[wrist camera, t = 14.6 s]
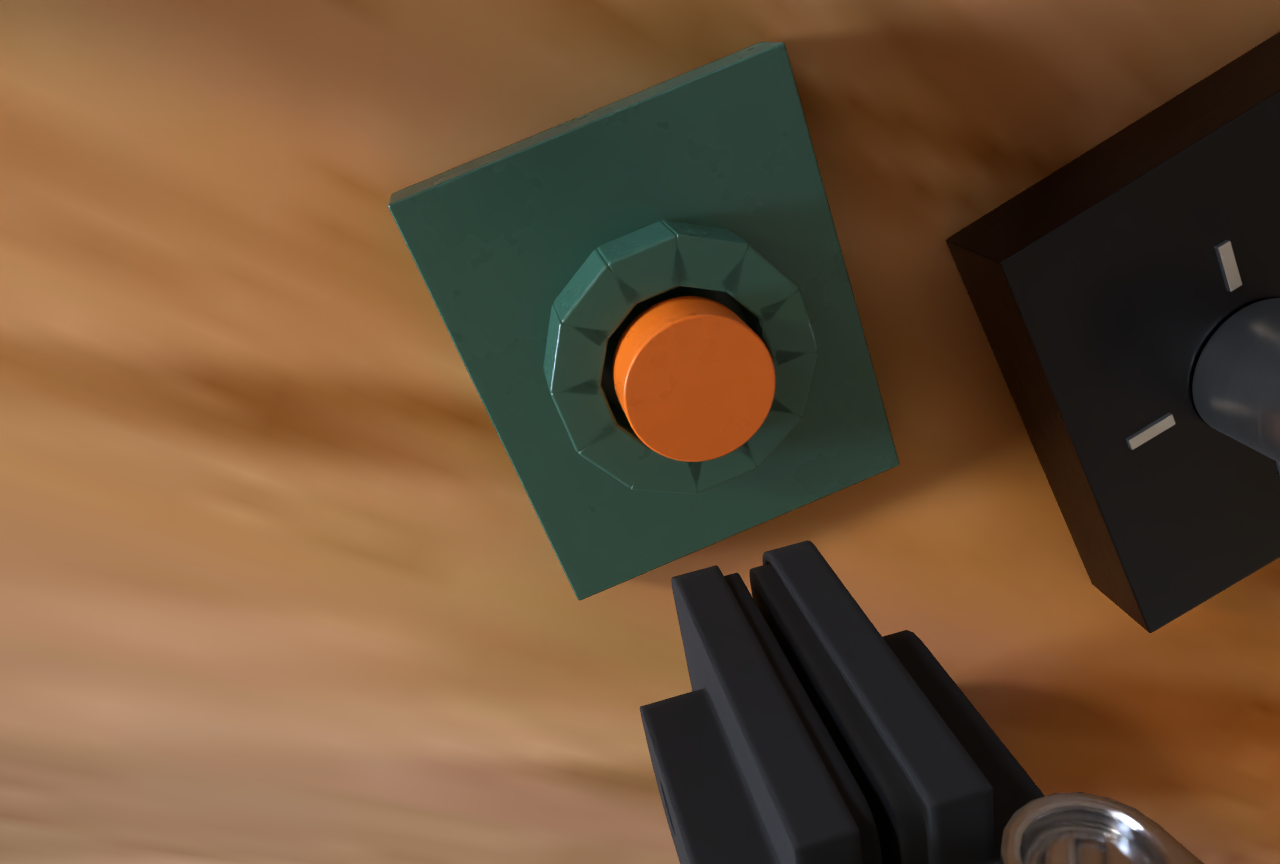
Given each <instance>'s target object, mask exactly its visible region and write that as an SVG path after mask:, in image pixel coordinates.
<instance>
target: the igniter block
mask: <svg viewBox="0 0 1280 864" xmlns="http://www.w3.org/2000/svg"><path fill="white" fill-rule="evenodd" d="M388 207H389V209H390V212H391V214H392V216H393V218H394V220H395V222H396V224H397V226H398V228H399V230H400V232H401V234H402V236H403V238H404V241H405V243H406V245H407V247H408V249H409V251H410V253H411V255H412V257H413V259H414V261H415V263H416V265H417V267H418V269H419V272H420V274H421V276H422V278H423V280H424V282H425V284H426V286H427V288H428V290H429V292H430V294H431V296H432V298H433V301H434V303H435V305H436V307H437V309H438V311H439V313H440V315H441V317H442V319H443V321H444V323H445V325H446V327H447V330H448V332H449V334H450V336H451V338H452V340H453V342H454V344H455V346H456V348H457V350H458V352H459V354H460V356H461V359H462V361H463V363H464V365H465V367H466V369H467V371H468V373H469V375H470V377H471V379H472V381H473V383H474V385H475V388H476V390H477V392H478V394H479V396H480V398H481V400H482V402H483V404H484V406H485V408H486V410H487V412H488V414H489V417H490V419H491V421H492V423H493V425H494V427H495V429H496V431H497V433H498V435H499V437H500V439H501V441H502V443H503V446H504V448H505V450H506V452H507V454H508V456H509V458H510V460H511V462H512V464H513V466H514V468H515V470H516V472H517V474H518V477H519V479H520V481H521V483H522V485H523V487H524V489H525V491H526V493H527V495H528V497H529V499H530V501H531V503H532V506H533V508H534V510H535V512H536V514H537V516H538V518H539V520H540V522H541V524H542V526H543V528H544V530H545V532H546V535H547V537H548V539H549V541H550V543H551V545H552V547H553V549H554V551H555V553H556V555H557V557H558V559H559V561H560V564H561V566H562V568H563V570H564V572H565V574H566V576H567V578H568V580H569V582H570V584H571V586H572V588H573V590H574V593H575V595H576V597H577V599H578V600H582V599H585V598H587V597H589V596H592V595H594V594H596V593H599V592H601V591H604V590H606V589H608V588H611V587H613V586H615V585H618V584H620V583H622V582H625V581H627V580H629V579H632V578H634V577H637V576H639V575H641V574H644V573H646V572H648V571H651V570H653V569H655V568H658V567H660V566H662V565H665V564H667V563H670V562H672V561H674V560H677V559H679V558H681V557H684V556H686V555H688V554H691V553H693V552H695V551H698V550H700V549H703V548H705V547H707V546H710V545H712V544H714V543H717V542H719V541H721V540H724V539H726V538H728V537H731V536H733V535H736V534H738V533H740V532H743V531H745V530H747V529H750V528H752V527H754V526H757V525H759V524H761V523H764V522H766V521H769V520H771V519H773V518H776V517H778V516H780V515H783V514H785V513H787V512H790V511H792V510H794V509H797V508H799V507H802V506H804V505H806V504H809V503H811V502H813V501H816V500H818V499H820V498H823V497H825V496H828V495H830V494H832V493H835V492H837V491H839V490H842V489H844V488H846V487H849V486H851V485H853V484H856V483H858V482H861V481H863V480H865V479H868V478H870V477H872V476H875V475H877V474H879V473H882V472H884V471H886V470H889V469H891V468H894V467H896V466H898V465H899V460H898V456H897V453H896V449H895V445H894V442H893V438H892V434H891V431H890V427H889V423H888V420H887V416H886V413H885V409H884V405H883V402H882V398H881V394H880V391H879V387H878V383H877V380H876V376H875V372H874V369H873V365H872V361H871V358H870V354H869V350H868V347H867V343H866V339H865V336H864V332H863V328H862V325H861V321H860V317H859V314H858V310H857V306H856V303H855V299H854V295H853V292H852V288H851V284H850V281H849V277H848V273H847V270H846V266H845V262H844V259H843V255H842V251H841V248H840V244H839V240H838V237H837V233H836V229H835V226H834V222H833V218H832V215H831V211H830V208H829V204H828V200H827V197H826V193H825V189H824V186H823V182H822V178H821V175H820V171H819V167H818V164H817V160H816V156H815V153H814V149H813V145H812V142H811V138H810V134H809V131H808V127H807V123H806V120H805V116H804V112H803V109H802V105H801V101H800V98H799V94H798V90H797V87H796V83H795V79H794V76H793V72H792V68H791V65H790V61H789V57H788V54H787V50H786V46H785V44H784V43H779V42H760V43H757V44H755V45H753V46H750V47H748V48H745V49H743V50H740V51H738V52H735V53H733V54H731V55H728V56H726V57H723V58H721V59H718V60H716V61H714V62H711V63H709V64H706V65H704V66H701V67H699V68H697V69H694V70H692V71H689V72H687V73H684V74H682V75H679V76H677V77H675V78H672V79H670V80H667V81H665V82H662V83H660V84H658V85H655V86H653V87H650V88H648V89H645V90H643V91H641V92H638V93H636V94H633V95H631V96H628V97H626V98H623V99H621V100H619V101H616V102H614V103H611V104H609V105H606V106H604V107H602V108H599V109H597V110H594V111H592V112H589V113H587V114H585V115H582V116H580V117H577V118H575V119H572V120H570V121H567V122H565V123H563V124H560V125H558V126H555V127H553V128H550V129H548V130H546V131H543V132H541V133H538V134H536V135H533V136H531V137H529V138H526V139H524V140H521V141H519V142H516V143H514V144H511V145H509V146H507V147H504V148H502V149H499V150H497V151H494V152H492V153H490V154H487V155H485V156H482V157H480V158H477V159H475V160H473V161H470V162H468V163H465V164H463V165H460V166H458V167H455V168H453V169H451V170H448V171H446V172H443V173H441V174H438V175H436V176H434V177H431V178H429V179H426V180H424V181H421V182H419V183H417V184H414V185H412V186H409V187H407V188H404V189H402V190H399V191H397V192H395V193H393V194H392V195H391V198H390V201H389V204H388ZM679 296H700V297H705V298H709V299H712V300H715V301H717V302H719V303H721V304H723V305H725V306H727V307H728V308H729V309H731V310H732V311H733V312H734V313H735V314H736V315H738V316H739V317H740V318H741V319H742V320H743V321H744V322H745V323H746V324H747V325H748V326H749V327H750V328H751V329H752V330H753V331H754V332H755V333H756V334H757V335H758V336H759V337H760V338H761V340H762V341H763V342H764V344H765V345H766V347H767V349H768V350H769V352H770V355H771V357H772V360H773V364H774V368H775V375H776V388H775V394H774V399H773V403H772V406H771V409H770V411H769V413H768V415H767V417H766V419H765V421H764V422H763V424H762V426H761V427H760V428H759V429H758V431H757V432H756V433H755V434H754V435H753V436H752V437H751V438H750V439H749V440H748V441H747V442H746V443H744V444H743V445H742V446H741V447H739V448H737V449H736V450H734V451H733V452H730V453H728V454H726V455H724V456H721V457H719V458H716V459H712V460H707V461H699V462H686V461H679V460H674V459H671V458H667V457H665V456H663V455H660V454H658V453H657V452H655V451H653V450H652V449H650V448H649V447H648V446H647V445H645V444H644V443H643V442H642V441H641V440H640V439H639V437H638V436H637V435H636V433H635V432H634V431H633V429H632V427H631V425H630V423H629V421H628V419H627V417H626V415H625V413H624V410H623V408H622V406H621V404H620V402H619V400H618V398H617V395H616V392H615V389H614V385H613V380H612V364H613V357H614V353H615V350H616V347H617V344H618V342H619V340H620V338H621V336H622V334H623V333H624V331H625V330H626V328H627V327H628V325H629V324H630V323H631V322H632V321H633V320H634V319H635V318H636V317H637V316H638V315H639V314H641V313H642V312H643V311H644V310H646V309H647V308H649V307H651V306H652V305H654V304H656V303H658V302H661V301H663V300H666V299H669V298H674V297H679Z"/></svg>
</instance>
